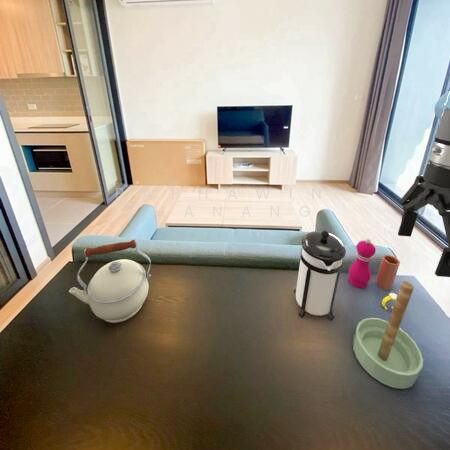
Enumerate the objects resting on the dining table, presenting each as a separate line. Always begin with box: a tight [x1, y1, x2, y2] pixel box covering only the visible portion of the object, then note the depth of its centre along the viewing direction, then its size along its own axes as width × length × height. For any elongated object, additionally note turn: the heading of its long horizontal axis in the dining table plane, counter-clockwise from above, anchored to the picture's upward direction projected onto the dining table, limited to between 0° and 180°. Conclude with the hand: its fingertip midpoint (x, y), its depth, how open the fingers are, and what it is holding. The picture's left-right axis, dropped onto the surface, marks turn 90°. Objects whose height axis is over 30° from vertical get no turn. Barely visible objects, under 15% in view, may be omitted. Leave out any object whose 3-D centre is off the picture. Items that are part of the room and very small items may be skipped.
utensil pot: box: [375, 254, 401, 291], centre depth 90 cm, size 5×5×12 cm
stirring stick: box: [378, 280, 415, 361], centre depth 63 cm, size 2×2×26 cm
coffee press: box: [293, 230, 347, 321], centre depth 80 cm, size 17×16×30 cm
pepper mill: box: [347, 238, 376, 289], centre depth 90 cm, size 7×7×20 cm
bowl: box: [352, 317, 424, 390], centre depth 67 cm, size 15×15×6 cm
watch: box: [381, 292, 398, 311], centre depth 82 cm, size 6×3×6 cm, turn 87°
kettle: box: [68, 239, 152, 324], centre depth 79 cm, size 25×18×25 cm
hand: (421, 253), depth 55 cm, fingers open, 13 cm apart
